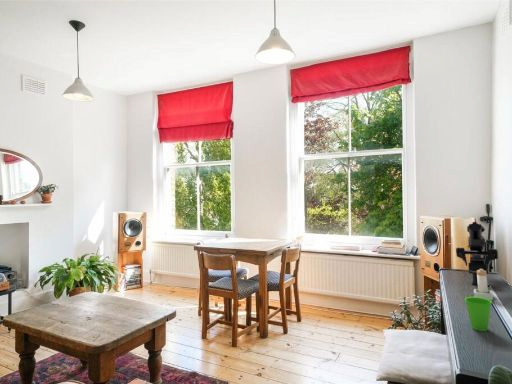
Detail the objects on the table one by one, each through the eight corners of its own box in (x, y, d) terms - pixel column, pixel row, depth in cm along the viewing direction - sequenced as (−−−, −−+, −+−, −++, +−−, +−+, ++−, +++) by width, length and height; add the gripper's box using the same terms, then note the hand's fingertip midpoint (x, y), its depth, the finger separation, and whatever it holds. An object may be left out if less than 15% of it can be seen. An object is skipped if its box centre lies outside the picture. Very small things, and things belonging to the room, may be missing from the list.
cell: (478, 295, 168) (476, 268, 168) (488, 296, 166) (486, 268, 166) (478, 297, 165) (476, 269, 165) (488, 298, 162) (486, 270, 163)
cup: (498, 333, 124) (497, 304, 124) (471, 332, 125) (470, 303, 126) (487, 324, 132) (485, 296, 133) (462, 323, 134) (460, 296, 134)
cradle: (474, 294, 170) (473, 288, 171) (492, 296, 166) (492, 290, 166) (474, 298, 164) (473, 292, 164) (492, 300, 160) (492, 294, 160)
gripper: (455, 233, 185) (455, 256, 175) (496, 233, 174) (498, 258, 165) (456, 245, 191) (456, 268, 182) (496, 246, 180) (498, 271, 171)
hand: (476, 266), depth 175 cm, fingers open, 9 cm apart
